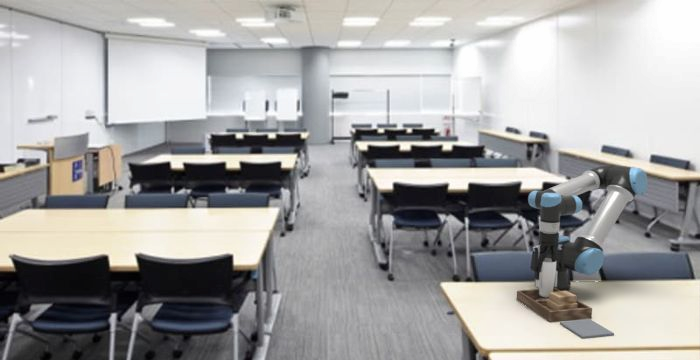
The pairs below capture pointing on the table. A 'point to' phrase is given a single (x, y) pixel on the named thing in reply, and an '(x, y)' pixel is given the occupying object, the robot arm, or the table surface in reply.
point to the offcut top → (562, 297)
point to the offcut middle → (560, 306)
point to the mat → (586, 328)
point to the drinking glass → (547, 277)
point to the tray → (551, 316)
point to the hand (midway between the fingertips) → (546, 286)
